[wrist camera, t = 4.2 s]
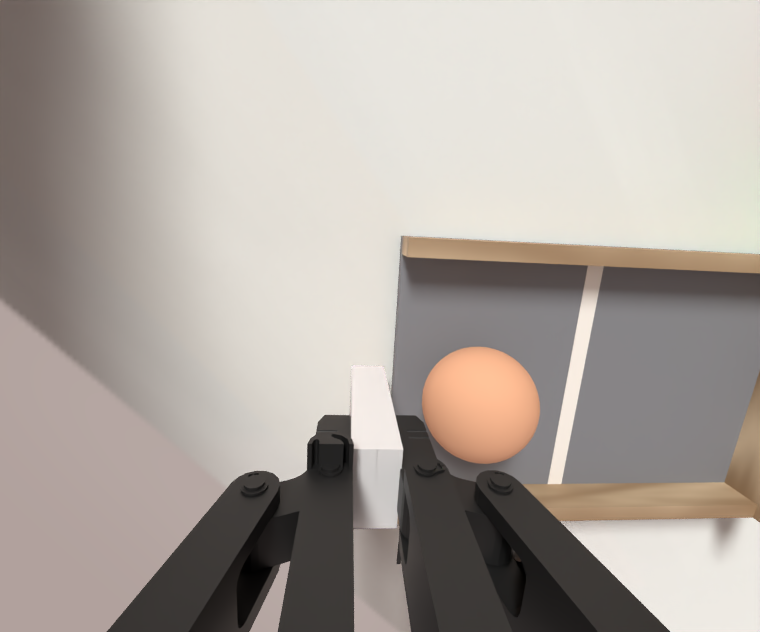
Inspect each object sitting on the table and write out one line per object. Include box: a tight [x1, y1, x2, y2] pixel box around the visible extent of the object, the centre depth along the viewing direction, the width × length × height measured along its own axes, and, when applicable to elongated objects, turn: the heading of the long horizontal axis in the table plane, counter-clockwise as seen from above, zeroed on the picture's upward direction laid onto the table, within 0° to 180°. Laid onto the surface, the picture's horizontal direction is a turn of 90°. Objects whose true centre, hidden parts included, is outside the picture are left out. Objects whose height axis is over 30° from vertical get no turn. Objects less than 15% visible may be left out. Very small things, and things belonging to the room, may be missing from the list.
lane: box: [391, 236, 760, 484], centre depth 19 cm, size 14×21×1 cm, turn 87°
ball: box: [422, 347, 540, 464], centre depth 16 cm, size 5×5×5 cm
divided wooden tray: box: [397, 236, 760, 524], centre depth 17 cm, size 14×21×4 cm, turn 87°
